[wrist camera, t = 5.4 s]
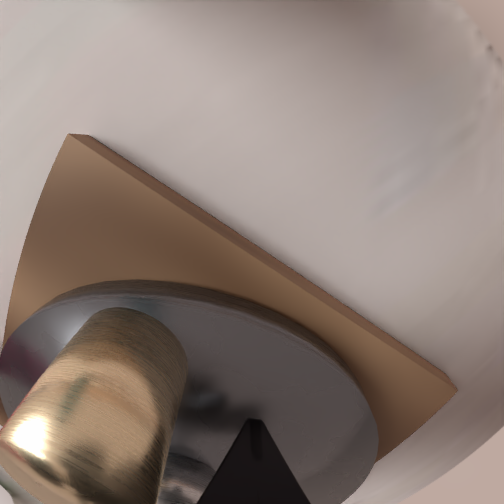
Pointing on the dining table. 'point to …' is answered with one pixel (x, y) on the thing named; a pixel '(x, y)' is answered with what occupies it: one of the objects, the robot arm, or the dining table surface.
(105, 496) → the handwheel
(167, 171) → the dining table surface
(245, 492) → the robot arm
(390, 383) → the wheel mount
